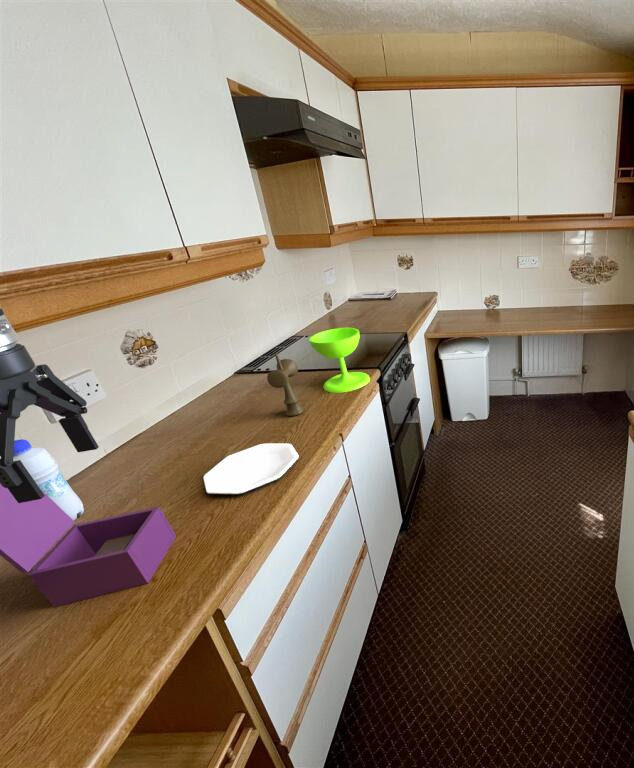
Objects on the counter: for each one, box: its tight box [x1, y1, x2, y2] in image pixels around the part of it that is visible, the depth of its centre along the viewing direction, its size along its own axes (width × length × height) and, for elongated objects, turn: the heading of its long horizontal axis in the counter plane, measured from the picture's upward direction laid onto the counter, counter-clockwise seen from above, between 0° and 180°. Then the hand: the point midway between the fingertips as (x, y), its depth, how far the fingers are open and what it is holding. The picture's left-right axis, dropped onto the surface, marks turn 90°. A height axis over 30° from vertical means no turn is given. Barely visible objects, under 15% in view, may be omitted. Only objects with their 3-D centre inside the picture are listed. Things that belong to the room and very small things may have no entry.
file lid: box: [0, 484, 76, 574], centre depth 67 cm, size 14×12×1 cm
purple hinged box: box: [27, 506, 177, 608], centre depth 73 cm, size 14×12×8 cm
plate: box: [202, 442, 300, 496], centre depth 100 cm, size 20×20×2 cm
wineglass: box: [308, 327, 371, 394], centre depth 141 cm, size 16×16×18 cm
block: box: [94, 534, 135, 557], centre depth 74 cm, size 4×4×4 cm
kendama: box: [266, 353, 305, 417], centre depth 122 cm, size 6×10×20 cm, turn 9°
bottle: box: [13, 438, 85, 521], centre depth 84 cm, size 7×7×20 cm
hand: (62, 472), depth 66 cm, fingers open, 13 cm apart
